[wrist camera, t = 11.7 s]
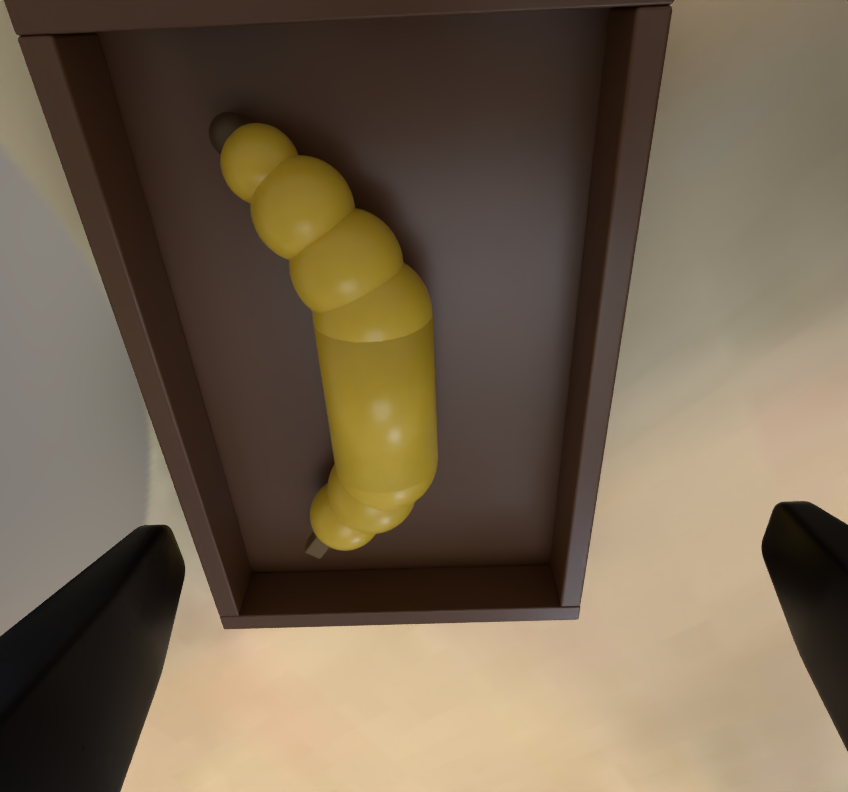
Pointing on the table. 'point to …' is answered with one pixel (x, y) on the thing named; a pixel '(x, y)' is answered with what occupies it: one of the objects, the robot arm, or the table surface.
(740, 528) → the table surface
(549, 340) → the tray
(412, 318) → the banana
